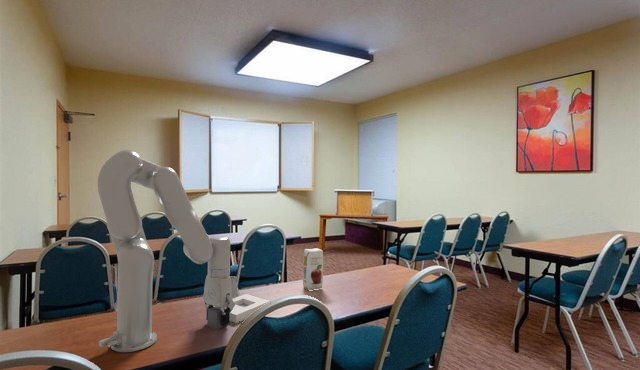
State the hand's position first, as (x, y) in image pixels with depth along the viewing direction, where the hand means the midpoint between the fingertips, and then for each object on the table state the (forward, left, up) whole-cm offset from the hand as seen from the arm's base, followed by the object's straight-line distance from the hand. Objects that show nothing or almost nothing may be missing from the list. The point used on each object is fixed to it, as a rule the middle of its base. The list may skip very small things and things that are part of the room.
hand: (217, 321), depth 120 cm
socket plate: (+14, +3, -1) cm, 14 cm away
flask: (+20, +15, -2) cm, 25 cm away
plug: (0, 0, -1) cm, 1 cm away
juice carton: (+54, -3, -1) cm, 54 cm away
